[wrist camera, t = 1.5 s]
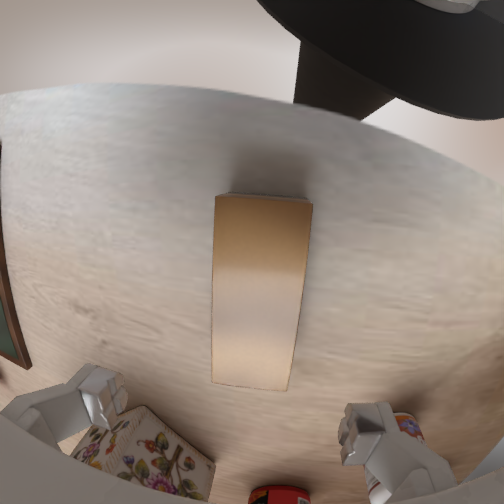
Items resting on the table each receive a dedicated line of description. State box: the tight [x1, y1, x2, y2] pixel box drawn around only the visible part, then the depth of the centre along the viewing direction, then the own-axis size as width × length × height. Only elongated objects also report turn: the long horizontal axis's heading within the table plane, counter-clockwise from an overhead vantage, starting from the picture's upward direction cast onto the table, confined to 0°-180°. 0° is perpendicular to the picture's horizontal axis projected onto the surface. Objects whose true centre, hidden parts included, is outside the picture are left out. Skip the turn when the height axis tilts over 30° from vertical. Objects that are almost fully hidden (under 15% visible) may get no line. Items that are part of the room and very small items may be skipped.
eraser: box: [212, 192, 313, 391], centre depth 18 cm, size 12×5×4 cm, turn 176°
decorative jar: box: [70, 406, 216, 502], centre depth 18 cm, size 12×12×18 cm
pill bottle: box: [364, 413, 428, 504], centre depth 17 cm, size 6×6×11 cm
